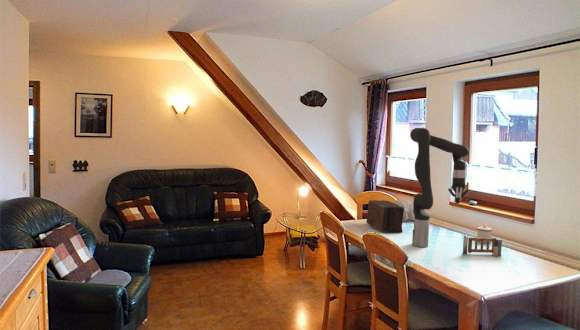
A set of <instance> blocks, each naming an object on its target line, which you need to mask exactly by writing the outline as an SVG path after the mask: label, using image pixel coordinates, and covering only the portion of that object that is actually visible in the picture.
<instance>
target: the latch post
mask: <svg viewBox="0 0 580 330" xmlns="http://www.w3.org/2000/svg"><path fill="white" fill-rule="evenodd" d="M502 244H503V239H501V238H496V246H493V251H492V253H491V254H492V255H491V256H492V257H496V258H497V257H499V256H502V246H503V245H502Z"/></svg>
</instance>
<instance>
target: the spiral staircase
mask: <svg viewBox="0 0 580 330" xmlns="http://www.w3.org/2000/svg"><path fill="white" fill-rule="evenodd" d="M413 201H414V199H411V201H410V200H408V199H405V200H400V199H398V200H397V201H395V204H397V205H399V206H402V207H404V214H403V221H404V222H405V221H407V218H408V220H409V221H411V222H413V221H414V213H413ZM403 221H402V222H403Z"/></svg>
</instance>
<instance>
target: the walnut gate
mask: <svg viewBox="0 0 580 330" xmlns="http://www.w3.org/2000/svg"><path fill="white" fill-rule="evenodd" d="M496 239H497V238H496V237H491V238H477V237H472V236H471V237H469V236H468V246H467V254H471V253H487V254H488V253H489V254H490V253H491V254H492V251H493V246H496ZM478 241H481V242H480V248H478V243H479V242H478ZM483 241H487V243H486V247H485V248H484V243H483ZM489 241H491V248H490V243H489ZM473 242H474V248H472V247H473Z"/></svg>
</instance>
